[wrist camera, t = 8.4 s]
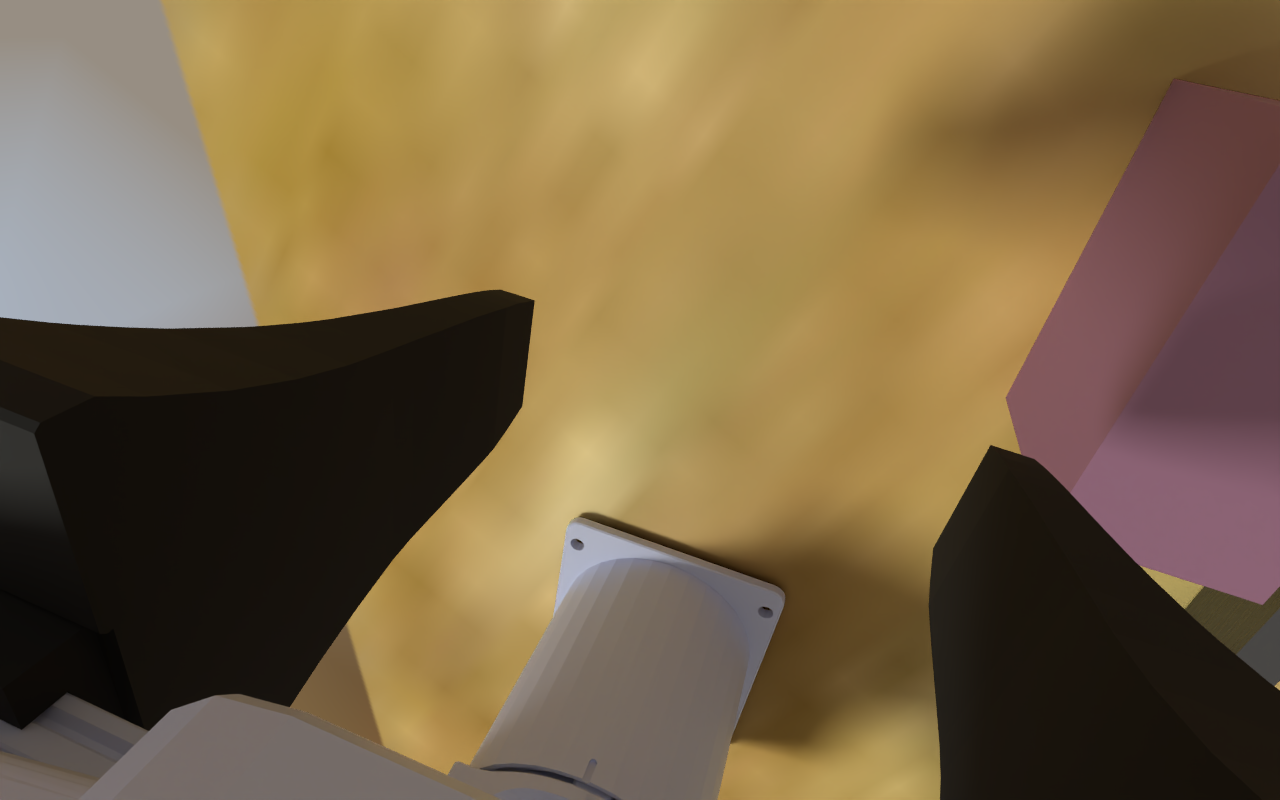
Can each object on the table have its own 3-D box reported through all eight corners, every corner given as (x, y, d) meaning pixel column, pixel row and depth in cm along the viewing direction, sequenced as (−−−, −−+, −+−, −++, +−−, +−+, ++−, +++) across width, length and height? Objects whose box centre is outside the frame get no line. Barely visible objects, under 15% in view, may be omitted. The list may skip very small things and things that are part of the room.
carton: (1393, 124, 14) (1661, 188, 9) (1169, 444, 18) (1271, 607, 13) (1171, 78, 15) (1311, 115, 10) (1005, 396, 19) (1043, 534, 14)
